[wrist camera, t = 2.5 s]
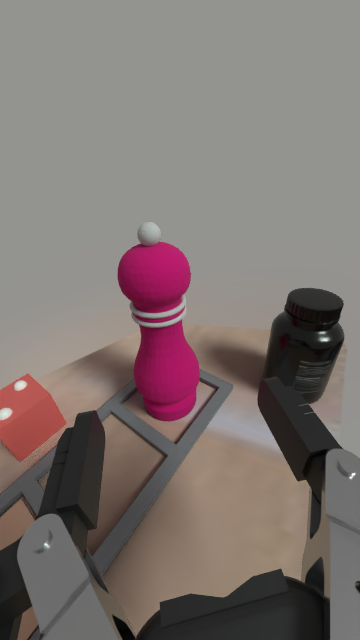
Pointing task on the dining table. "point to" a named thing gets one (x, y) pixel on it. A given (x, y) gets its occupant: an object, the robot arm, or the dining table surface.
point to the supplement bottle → (306, 342)
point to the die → (27, 416)
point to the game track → (19, 517)
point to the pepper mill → (160, 324)
